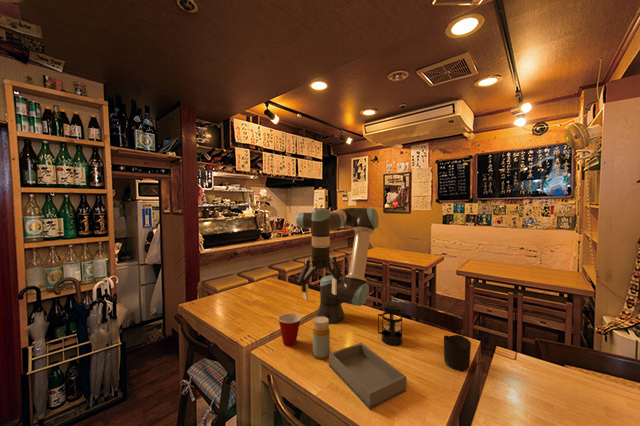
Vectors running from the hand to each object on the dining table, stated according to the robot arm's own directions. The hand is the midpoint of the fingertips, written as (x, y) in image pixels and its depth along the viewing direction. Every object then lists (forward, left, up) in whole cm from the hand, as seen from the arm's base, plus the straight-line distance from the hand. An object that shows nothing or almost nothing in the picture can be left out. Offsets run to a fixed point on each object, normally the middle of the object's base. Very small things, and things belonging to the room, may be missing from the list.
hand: (320, 296), depth 105 cm
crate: (-7, +20, -25) cm, 33 cm away
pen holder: (-44, +32, -25) cm, 60 cm away
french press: (-34, +6, -25) cm, 43 cm away
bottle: (0, 0, -25) cm, 25 cm away
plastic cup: (+8, -15, -25) cm, 30 cm away
